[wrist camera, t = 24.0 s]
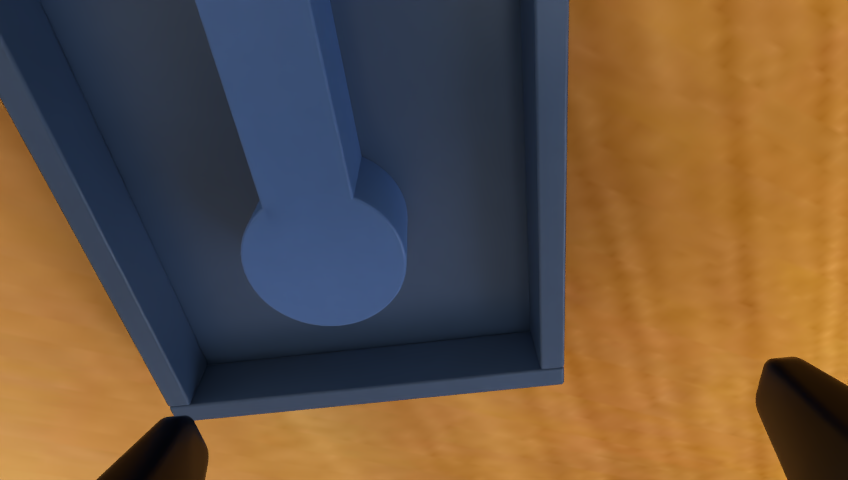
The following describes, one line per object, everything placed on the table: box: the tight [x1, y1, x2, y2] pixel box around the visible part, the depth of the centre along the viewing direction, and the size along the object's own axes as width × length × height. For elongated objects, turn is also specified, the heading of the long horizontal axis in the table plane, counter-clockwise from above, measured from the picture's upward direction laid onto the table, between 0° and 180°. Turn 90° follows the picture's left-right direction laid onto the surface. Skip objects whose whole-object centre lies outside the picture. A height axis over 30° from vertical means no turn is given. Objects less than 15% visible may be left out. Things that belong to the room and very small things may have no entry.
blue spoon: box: [195, 0, 408, 326], centre depth 11 cm, size 8×3×2 cm, turn 7°
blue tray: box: [0, 0, 569, 420], centre depth 12 cm, size 13×10×2 cm
